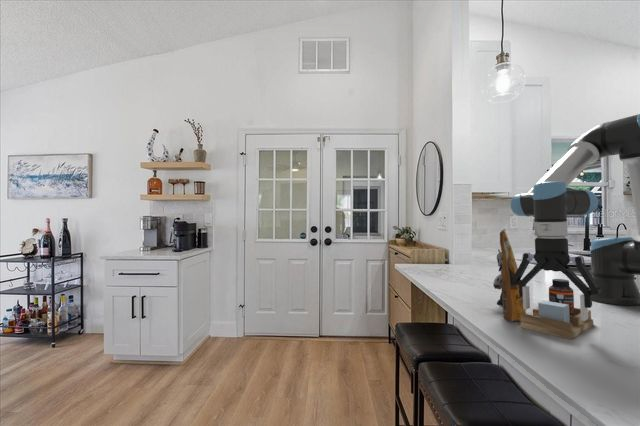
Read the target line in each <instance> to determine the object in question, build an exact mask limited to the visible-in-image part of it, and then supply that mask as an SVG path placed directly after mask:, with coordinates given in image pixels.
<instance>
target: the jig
mask: <svg viewBox="0 0 640 426" xmlns="http://www.w3.org/2000/svg"><path fill="white" fill-rule="evenodd" d="M569 316H570V315H569ZM520 317H521V320H520V328H523V329H527V330H531V331H536V332H539V333H544V334H547V335H552V336H556V337H560V338H564V339H565V338H566V339H568V340H573V339H575V338H576V337H577V336H579V335H581V334H582V333H583V332H585V331H587V330H588V329H589V328H591V327H592V326H594V319H593V318H592V312H591V309H588V319H587V320H585V321H582V320H581V309H580V308H579V307H574V316H570V323H568V322H563V321H558V320H553V319H548V318H543V317H539V311H538V306H536V307H534V308H532V314H528V313H525V314H524V313H520Z"/></svg>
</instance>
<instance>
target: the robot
mask: <svg viewBox="0 0 640 426" xmlns="http://www.w3.org/2000/svg"><path fill="white" fill-rule="evenodd" d="M497 251H498V253H497V254H496V260H497V266H498V267H499V268H498V272H500V274H498V275H497V276H496V277H495V278H494V281H493V284H492V285H493V288H494V289H495V290H496V289H497V290H502V281H501V280H502V260H503V256H502V250H501V249H498V250H497ZM496 304H497V305H498V306H501V307H503V302H502V291H501V292H500V296H499V299H498V300H497V301H496Z"/></svg>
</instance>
